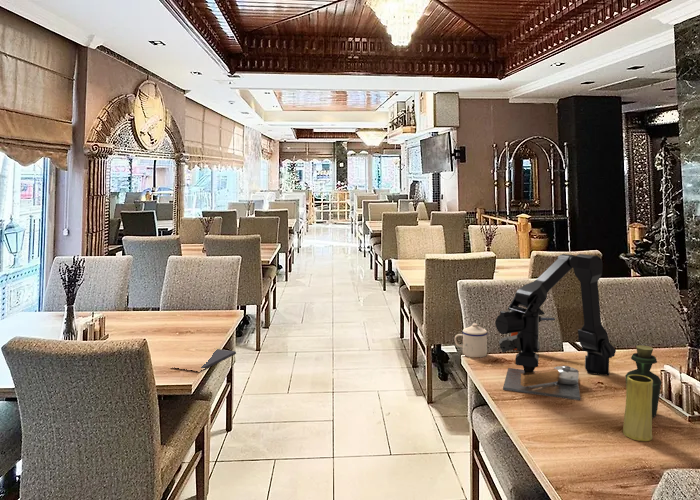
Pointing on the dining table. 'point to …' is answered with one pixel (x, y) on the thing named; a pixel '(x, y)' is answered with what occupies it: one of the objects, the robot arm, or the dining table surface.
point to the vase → (638, 408)
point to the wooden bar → (551, 376)
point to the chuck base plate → (540, 386)
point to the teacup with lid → (473, 341)
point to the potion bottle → (647, 372)
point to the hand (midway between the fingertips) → (527, 378)
